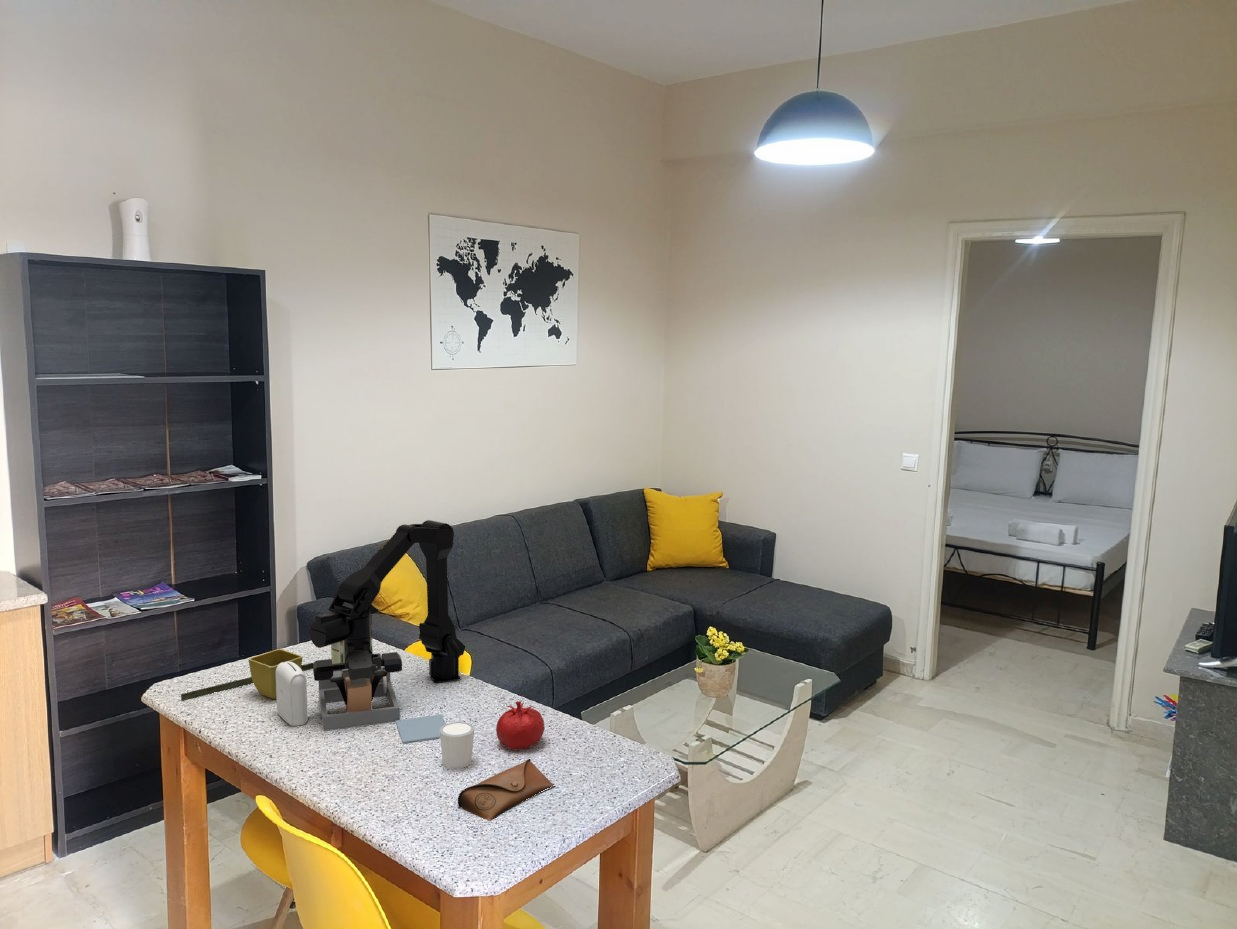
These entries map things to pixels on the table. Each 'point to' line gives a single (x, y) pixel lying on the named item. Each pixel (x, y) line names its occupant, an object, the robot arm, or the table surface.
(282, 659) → the flower pot
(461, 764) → the white cup
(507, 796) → the sunglasses case
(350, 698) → the block
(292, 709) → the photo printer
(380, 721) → the grey open frame
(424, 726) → the mat
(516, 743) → the pomegranate
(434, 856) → the table surface
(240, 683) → the rod
